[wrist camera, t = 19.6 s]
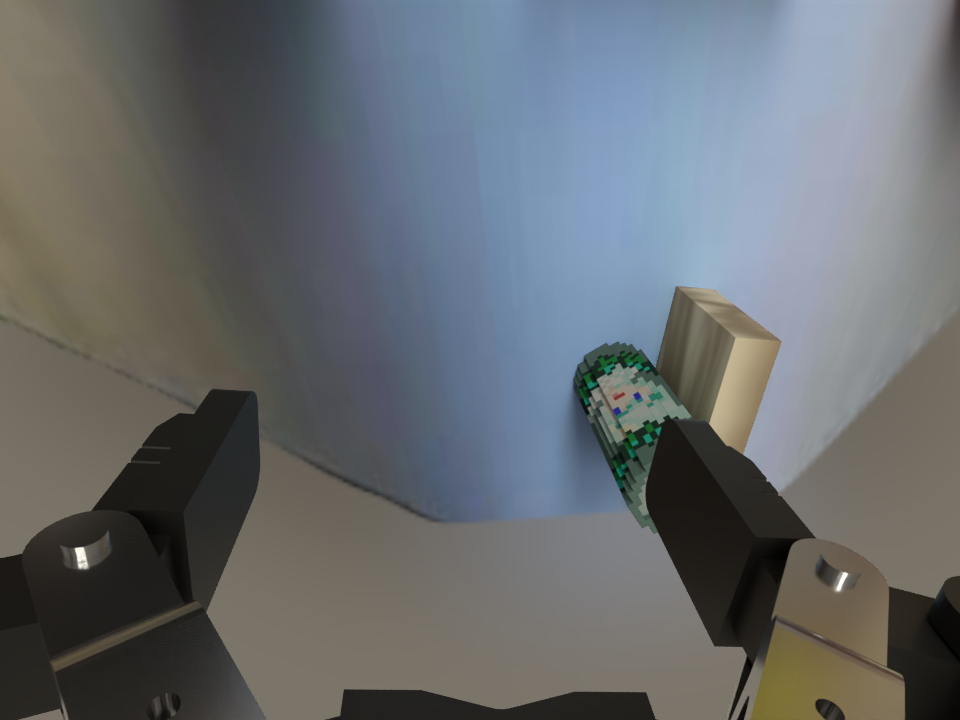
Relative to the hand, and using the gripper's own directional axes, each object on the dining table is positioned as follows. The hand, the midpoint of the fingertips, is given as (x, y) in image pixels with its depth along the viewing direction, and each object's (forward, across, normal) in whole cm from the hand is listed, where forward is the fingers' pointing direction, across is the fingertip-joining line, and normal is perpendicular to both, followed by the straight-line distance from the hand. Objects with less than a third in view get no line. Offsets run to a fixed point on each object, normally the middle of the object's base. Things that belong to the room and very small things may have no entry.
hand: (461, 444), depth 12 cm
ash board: (+33, -20, +14) cm, 41 cm away
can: (+33, -15, +14) cm, 39 cm away
